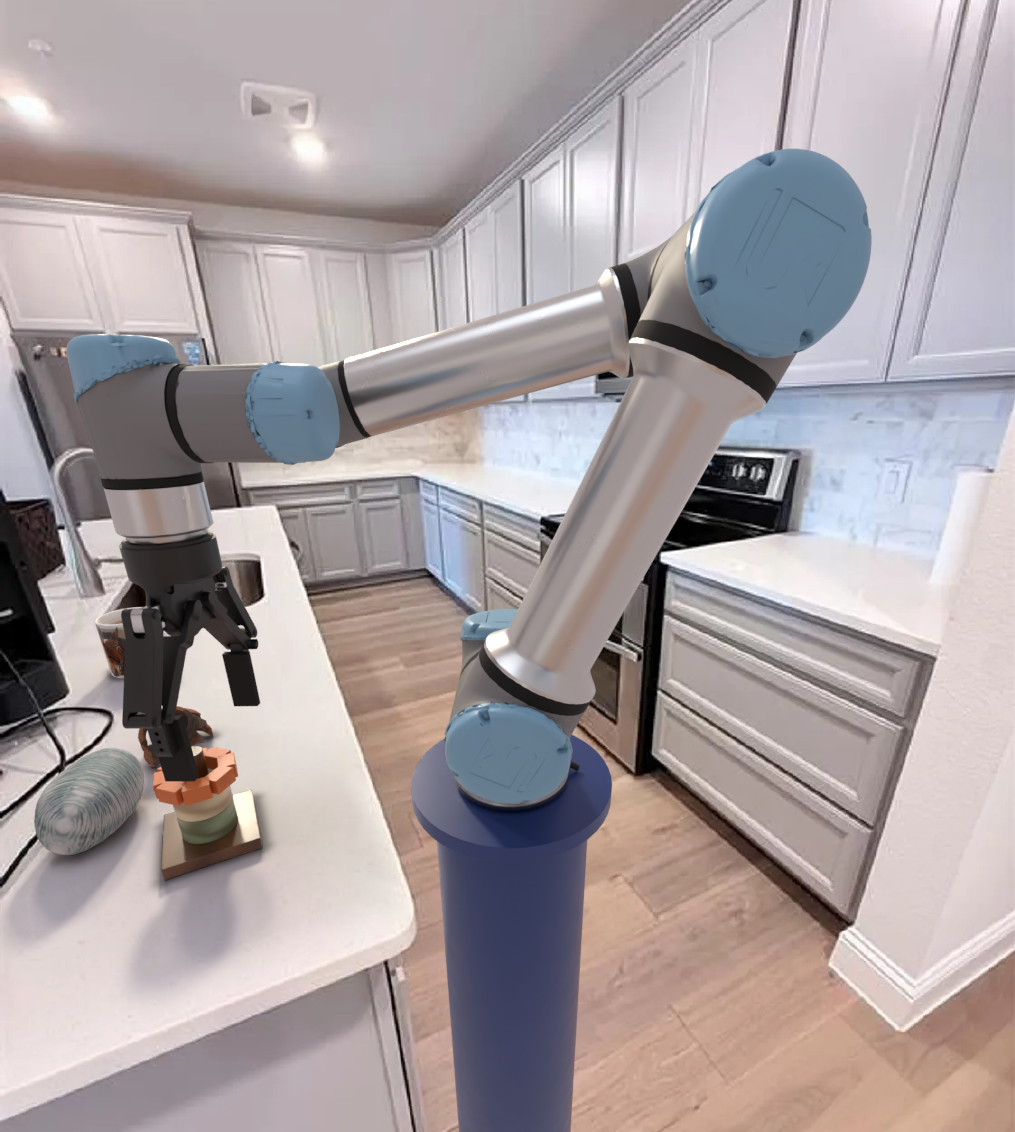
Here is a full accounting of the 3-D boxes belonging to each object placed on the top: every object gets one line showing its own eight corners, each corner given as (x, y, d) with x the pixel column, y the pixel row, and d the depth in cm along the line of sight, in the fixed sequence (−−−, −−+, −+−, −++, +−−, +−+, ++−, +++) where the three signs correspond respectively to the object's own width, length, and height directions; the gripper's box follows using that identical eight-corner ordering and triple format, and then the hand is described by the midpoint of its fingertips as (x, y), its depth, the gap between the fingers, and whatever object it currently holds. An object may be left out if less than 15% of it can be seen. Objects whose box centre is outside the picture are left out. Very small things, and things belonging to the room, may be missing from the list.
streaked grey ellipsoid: (79, 767, 74) (84, 719, 69) (156, 787, 77) (166, 742, 72) (8, 862, 63) (7, 813, 58) (100, 881, 66) (108, 836, 61)
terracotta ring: (234, 752, 69) (231, 740, 68) (240, 790, 62) (237, 776, 61) (158, 772, 65) (154, 760, 64) (155, 814, 58) (151, 800, 58)
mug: (164, 652, 117) (151, 602, 113) (182, 669, 109) (169, 617, 105) (105, 667, 110) (89, 615, 106) (120, 687, 102) (103, 632, 98)
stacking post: (253, 798, 73) (235, 719, 68) (262, 847, 65) (242, 762, 60) (166, 824, 69) (141, 742, 64) (164, 880, 60) (134, 791, 56)
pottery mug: (233, 738, 87) (213, 712, 80) (189, 790, 82) (164, 768, 75) (173, 708, 90) (149, 681, 83) (127, 757, 84) (97, 733, 78)
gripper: (198, 509, 61) (237, 681, 69) (7, 574, 38) (99, 822, 46) (266, 508, 61) (297, 681, 69) (117, 573, 38) (190, 821, 46)
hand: (218, 738), depth 57 cm, fingers open, 13 cm apart
